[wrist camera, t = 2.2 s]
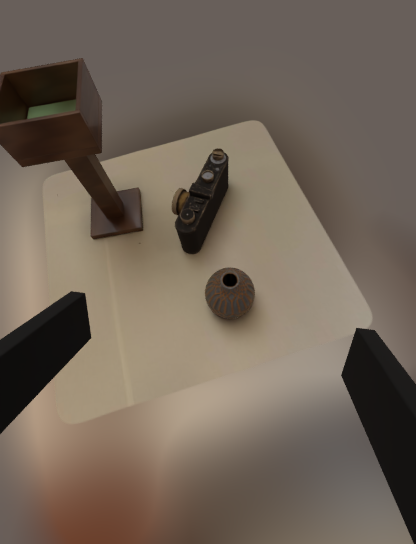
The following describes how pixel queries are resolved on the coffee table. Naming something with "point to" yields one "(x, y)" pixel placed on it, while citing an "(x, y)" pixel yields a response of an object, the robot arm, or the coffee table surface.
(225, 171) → the camera
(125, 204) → the square pedestal box
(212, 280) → the vase
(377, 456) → the robot arm
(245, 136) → the coffee table surface
